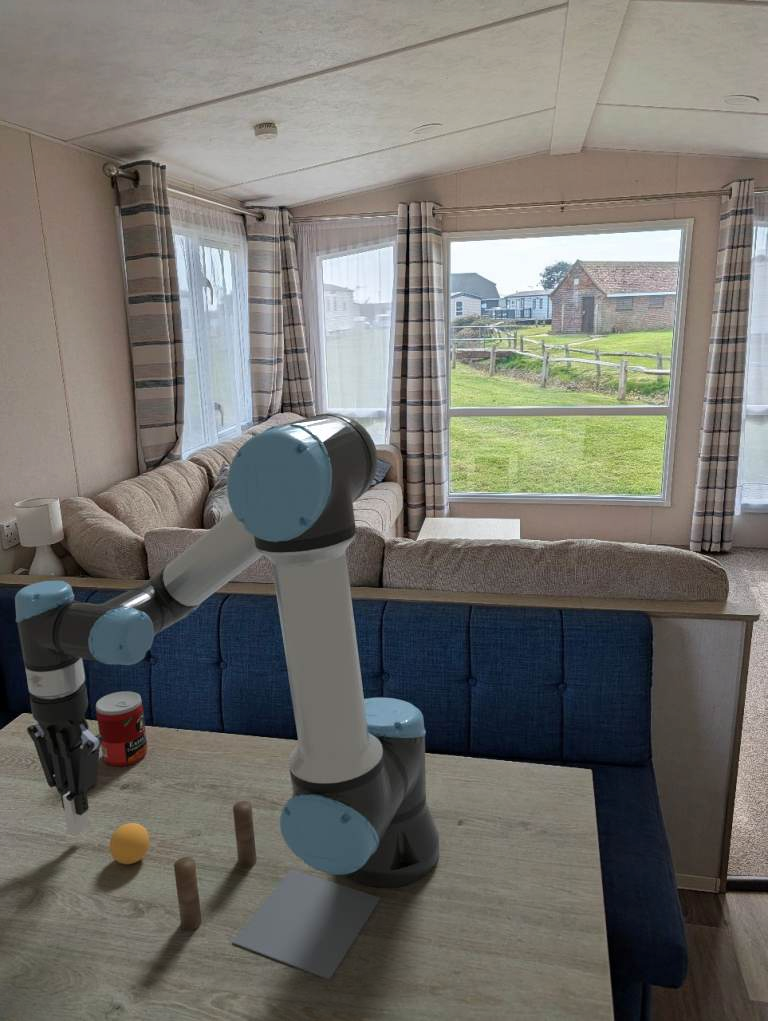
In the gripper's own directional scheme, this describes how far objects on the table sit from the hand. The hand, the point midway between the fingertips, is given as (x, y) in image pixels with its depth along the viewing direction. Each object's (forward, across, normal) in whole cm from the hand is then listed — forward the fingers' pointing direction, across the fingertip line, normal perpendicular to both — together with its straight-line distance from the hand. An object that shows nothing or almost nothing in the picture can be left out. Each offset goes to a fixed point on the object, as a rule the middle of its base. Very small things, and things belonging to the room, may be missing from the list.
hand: (78, 829), depth 114 cm
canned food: (+3, -11, +21) cm, 24 cm away
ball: (-1, +10, 0) cm, 10 cm away
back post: (+2, +26, +6) cm, 27 cm away
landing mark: (+2, +40, 0) cm, 40 cm away
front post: (+2, +26, -6) cm, 27 cm away
